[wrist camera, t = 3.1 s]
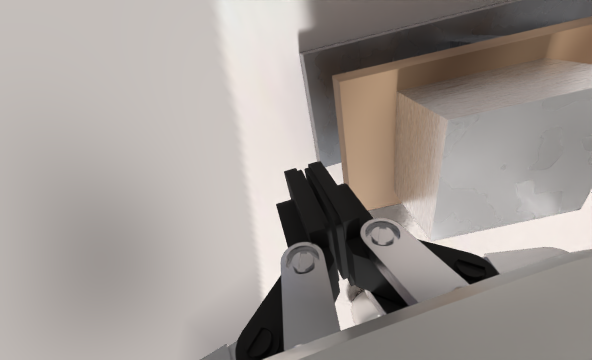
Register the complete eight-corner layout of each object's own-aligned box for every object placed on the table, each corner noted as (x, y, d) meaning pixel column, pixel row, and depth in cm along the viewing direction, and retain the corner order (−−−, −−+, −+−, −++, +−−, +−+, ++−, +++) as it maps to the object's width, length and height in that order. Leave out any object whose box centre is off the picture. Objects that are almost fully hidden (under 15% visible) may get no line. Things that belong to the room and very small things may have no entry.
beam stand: (593, -21, 20) (768, -43, 13) (552, 95, 25) (665, 119, 18) (299, 53, 18) (336, 68, 11) (317, 161, 23) (351, 215, 16)
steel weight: (544, 57, 12) (656, 73, 8) (510, 166, 15) (580, 209, 12) (396, 91, 12) (447, 120, 9) (394, 192, 15) (430, 241, 12)
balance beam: (820, -37, 12) (884, -43, 11) (705, 120, 17) (741, 129, 15) (332, 75, 13) (339, 82, 11) (345, 199, 17) (352, 213, 16)
